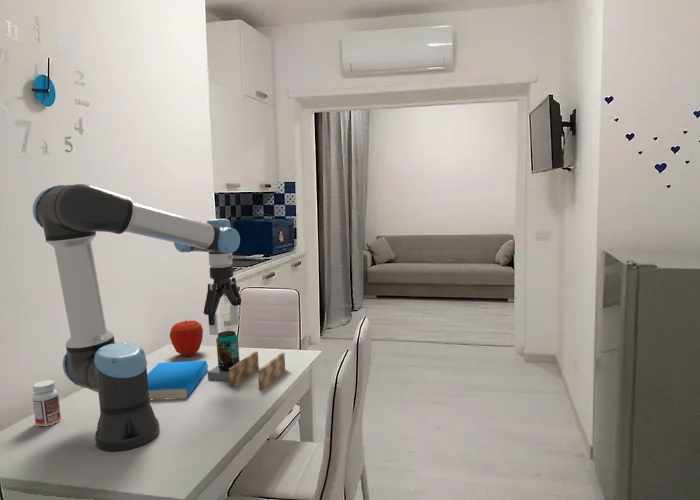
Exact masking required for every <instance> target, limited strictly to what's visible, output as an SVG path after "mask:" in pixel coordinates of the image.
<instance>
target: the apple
mask: <svg viewBox="0 0 700 500" xmlns="http://www.w3.org/2000/svg"><path fill="white" fill-rule="evenodd" d="M203 333H204V329H203V326H202V323H200V322H198V321H196V320H184V321H180V322H176V323H174V324H173V325H172V327H171V329H170V332H169V338H170V342H171V344H172V346H173V348H174V350H175V351H176V352H177V354H179V355H181V356H182V357H193V356H195V355H196V353H197V352H198V351H199V350H200V348H201V344H202V341H203V335H204V334H203Z"/></svg>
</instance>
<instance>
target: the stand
mask: <svg viewBox="0 0 700 500" xmlns="http://www.w3.org/2000/svg"><path fill="white" fill-rule="evenodd" d="M210 379H219V380H218V381H224V380H230V377H229V371H222V370H221V369H220V368H219V367H218V365H217V366H215V367H213V368H212V369H210V370H208V371H207V380H210Z"/></svg>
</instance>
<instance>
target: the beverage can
mask: <svg viewBox="0 0 700 500" xmlns="http://www.w3.org/2000/svg"><path fill="white" fill-rule="evenodd" d="M239 349H240V348H239V337H238V335H237V334H236V331H234V330H225V331H221V332H218V335H217V337H216V355H217V366H218V367H219V368H220V369H221V370H222V371H229V368H231V367H232V366H234V365H235V364H237V363H238V362H240V361H241V360H240V350H239Z"/></svg>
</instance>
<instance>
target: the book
mask: <svg viewBox="0 0 700 500" xmlns="http://www.w3.org/2000/svg"><path fill="white" fill-rule="evenodd" d="M208 368H209V365H208V362H207V360H191V361H173V362H171V361H170V362H157V364H156V365H155V366H154V367H153V368H152V369H151V370H150V371H149V372H147V377H148V388H149V400H150V401H152V400H151V399H162V400H167V399H166V398H181V399H186V398H188V397H189V396H190V395H191V393H192V392H193V390H194V389H195V388H196V386H197V385H198V384H199V382H200V381H201V380H202V378H203V376H204V375H205V374H206V372H208V371H207V370H208ZM204 373H205V374H204ZM199 380H200V381H199ZM194 387H195V388H194Z"/></svg>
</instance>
